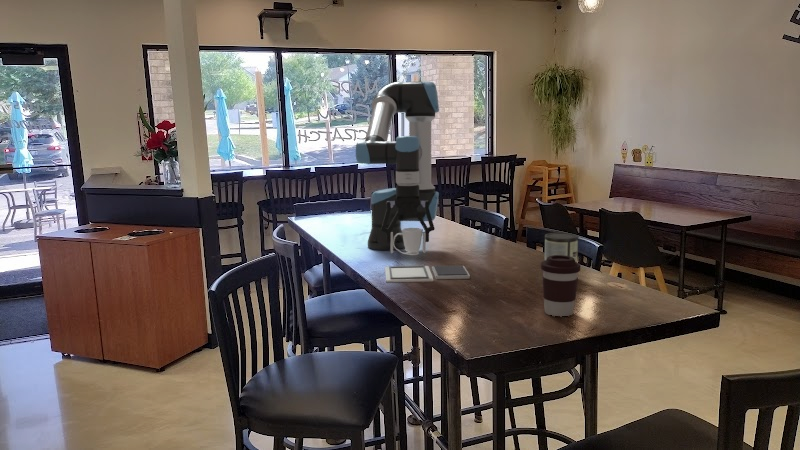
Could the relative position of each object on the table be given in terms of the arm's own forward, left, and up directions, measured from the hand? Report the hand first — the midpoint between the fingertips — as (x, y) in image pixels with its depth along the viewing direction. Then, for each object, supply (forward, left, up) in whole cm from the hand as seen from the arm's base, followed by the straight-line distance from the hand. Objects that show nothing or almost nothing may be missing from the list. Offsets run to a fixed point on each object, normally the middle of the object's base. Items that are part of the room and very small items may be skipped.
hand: (408, 252), depth 197 cm
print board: (0, 0, -8) cm, 8 cm away
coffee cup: (+43, +37, -8) cm, 57 cm away
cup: (0, 0, -1) cm, 1 cm away
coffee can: (+9, +48, -8) cm, 49 cm away
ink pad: (0, +14, -8) cm, 16 cm away
